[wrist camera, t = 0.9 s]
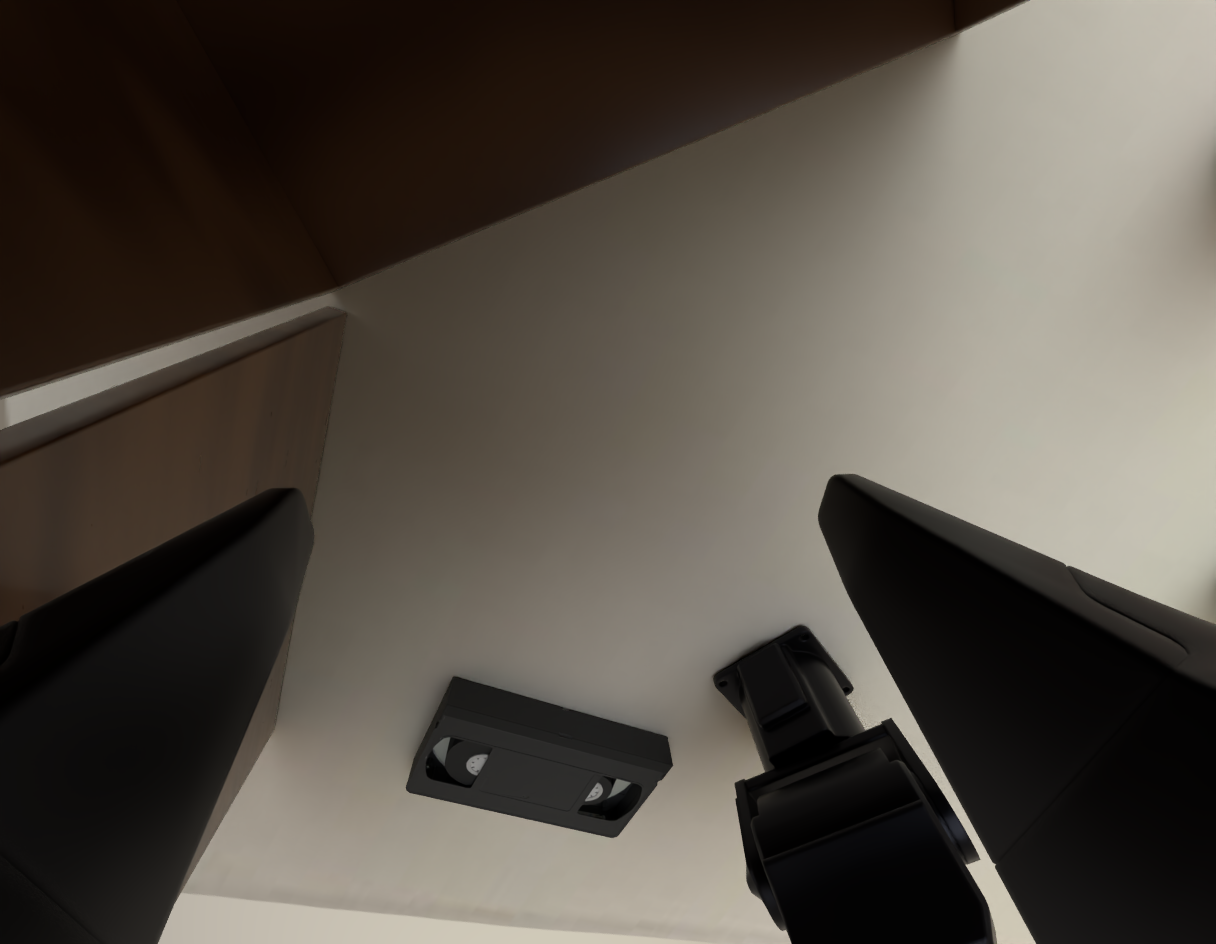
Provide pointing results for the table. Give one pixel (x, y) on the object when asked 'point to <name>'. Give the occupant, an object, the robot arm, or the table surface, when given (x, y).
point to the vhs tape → (536, 760)
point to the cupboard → (351, 138)
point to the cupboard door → (167, 474)
